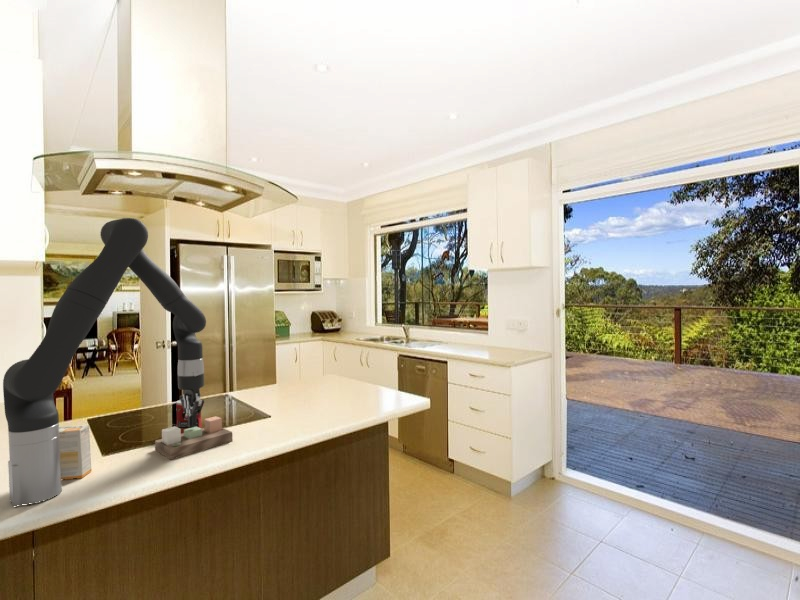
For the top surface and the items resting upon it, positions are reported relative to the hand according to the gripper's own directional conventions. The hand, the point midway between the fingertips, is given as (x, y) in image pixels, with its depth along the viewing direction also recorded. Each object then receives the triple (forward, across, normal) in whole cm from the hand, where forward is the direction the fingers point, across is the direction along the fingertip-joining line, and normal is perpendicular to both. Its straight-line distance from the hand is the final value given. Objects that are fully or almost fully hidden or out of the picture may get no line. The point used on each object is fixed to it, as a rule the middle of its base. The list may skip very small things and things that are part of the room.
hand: (192, 426), depth 134 cm
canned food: (+6, -15, +5) cm, 17 cm away
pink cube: (+3, 0, +7) cm, 7 cm away
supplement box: (+6, -3, -31) cm, 32 cm away
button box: (+6, +1, 0) cm, 6 cm away
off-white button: (+3, 0, -6) cm, 7 cm away
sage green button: (+5, 0, 0) cm, 5 cm away
